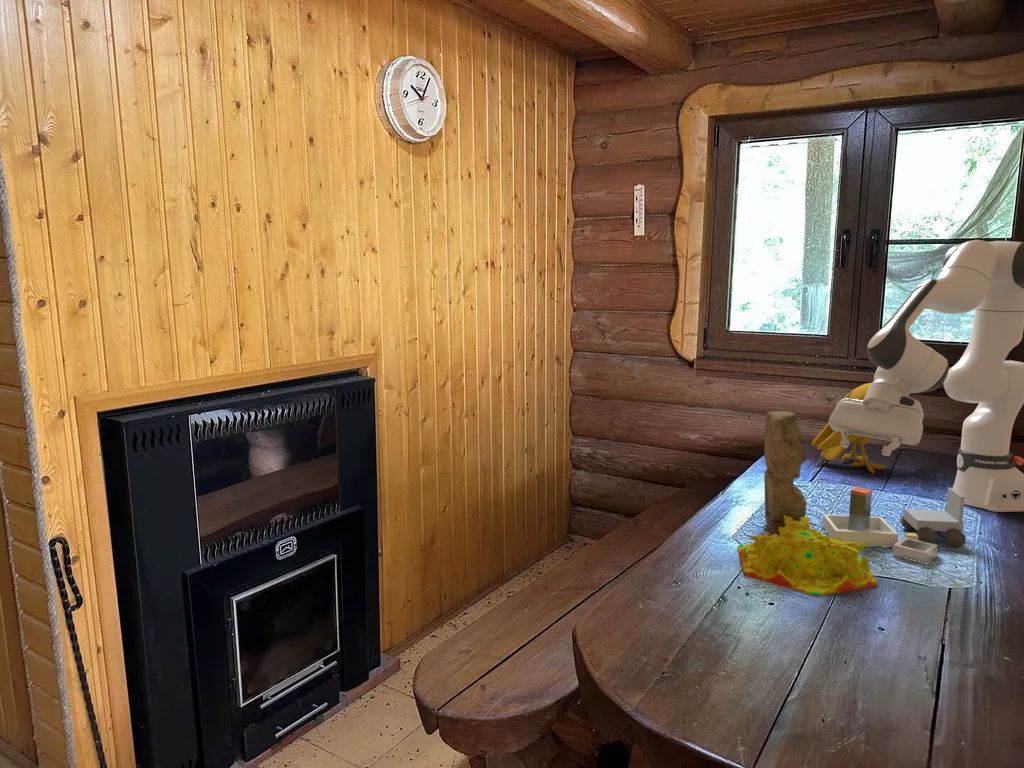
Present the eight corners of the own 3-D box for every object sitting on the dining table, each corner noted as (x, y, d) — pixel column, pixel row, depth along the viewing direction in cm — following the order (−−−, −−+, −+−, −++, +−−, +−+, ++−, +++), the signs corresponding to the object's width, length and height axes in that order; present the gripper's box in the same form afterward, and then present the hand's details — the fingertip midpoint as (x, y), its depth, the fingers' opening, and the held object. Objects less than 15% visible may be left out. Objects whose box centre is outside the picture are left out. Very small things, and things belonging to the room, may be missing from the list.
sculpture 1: (808, 541, 166) (815, 418, 162) (767, 539, 168) (773, 417, 163) (797, 523, 178) (803, 408, 174) (759, 521, 180) (764, 407, 175)
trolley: (943, 530, 173) (947, 485, 171) (965, 548, 162) (969, 499, 160) (900, 528, 174) (903, 483, 173) (918, 545, 163) (922, 497, 162)
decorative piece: (748, 555, 140) (736, 506, 169) (747, 592, 142) (734, 537, 171) (890, 566, 135) (852, 514, 164) (887, 604, 136) (850, 545, 165)
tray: (880, 529, 173) (881, 516, 173) (897, 547, 162) (898, 533, 162) (822, 527, 176) (822, 514, 175) (834, 544, 165) (835, 530, 164)
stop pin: (853, 530, 171) (856, 486, 170) (868, 534, 169) (872, 490, 167) (847, 533, 169) (850, 490, 167) (863, 537, 166) (866, 493, 165)
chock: (914, 542, 165) (915, 533, 165) (917, 546, 163) (918, 536, 163) (903, 542, 166) (904, 532, 165) (906, 545, 164) (907, 535, 163)
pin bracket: (903, 547, 163) (903, 536, 162) (936, 555, 158) (937, 545, 157) (892, 555, 158) (893, 545, 157) (926, 564, 153) (927, 553, 152)
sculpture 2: (908, 478, 221) (926, 385, 216) (824, 470, 221) (840, 377, 216) (876, 461, 241) (892, 375, 236) (799, 454, 241) (813, 368, 236)
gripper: (837, 390, 176) (817, 434, 172) (927, 402, 162) (908, 451, 157) (842, 404, 180) (823, 448, 175) (931, 418, 166) (912, 466, 161)
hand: (864, 450), depth 166 cm, fingers open, 8 cm apart
